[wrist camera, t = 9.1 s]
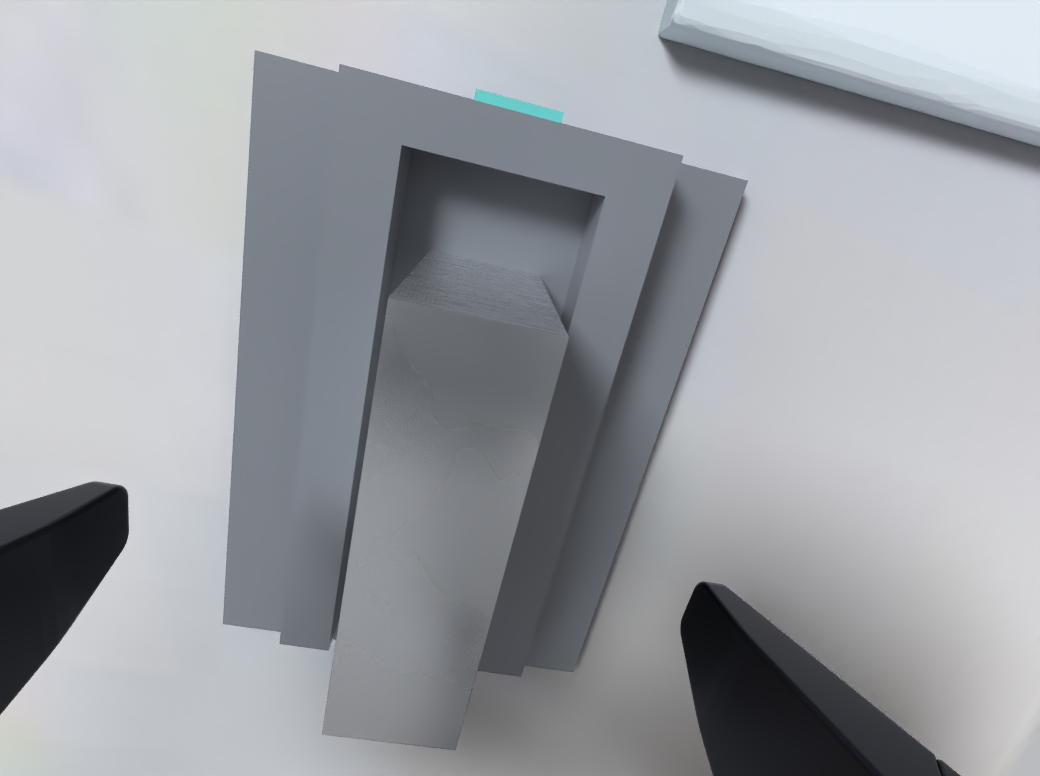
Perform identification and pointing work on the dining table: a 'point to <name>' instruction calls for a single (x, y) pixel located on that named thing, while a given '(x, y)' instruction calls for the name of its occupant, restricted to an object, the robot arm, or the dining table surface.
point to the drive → (440, 494)
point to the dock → (361, 315)
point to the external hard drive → (888, 51)
